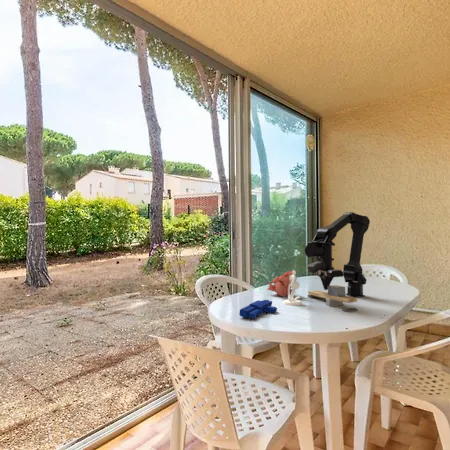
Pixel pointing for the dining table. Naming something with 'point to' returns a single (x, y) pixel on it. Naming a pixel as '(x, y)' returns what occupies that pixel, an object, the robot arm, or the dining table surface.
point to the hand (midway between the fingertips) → (325, 289)
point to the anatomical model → (281, 284)
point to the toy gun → (257, 309)
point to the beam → (325, 295)
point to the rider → (336, 291)
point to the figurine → (294, 286)
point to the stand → (334, 303)
